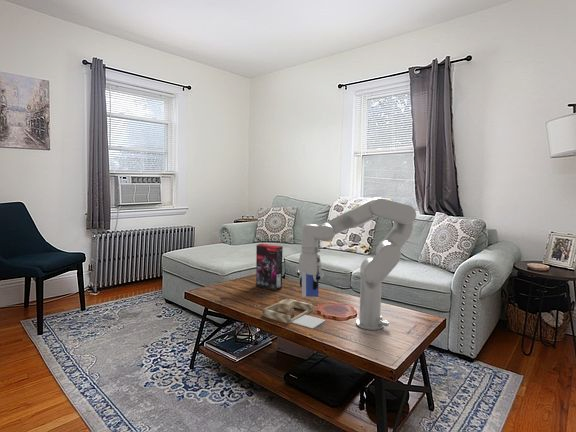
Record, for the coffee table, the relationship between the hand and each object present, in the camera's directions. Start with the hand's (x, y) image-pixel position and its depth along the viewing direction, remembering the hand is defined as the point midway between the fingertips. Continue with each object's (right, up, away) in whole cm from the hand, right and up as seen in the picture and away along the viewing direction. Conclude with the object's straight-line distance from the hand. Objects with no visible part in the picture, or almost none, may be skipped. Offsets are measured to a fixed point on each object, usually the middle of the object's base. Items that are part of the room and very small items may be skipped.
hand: (308, 287), depth 165 cm
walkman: (+1, -4, 0) cm, 4 cm away
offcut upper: (-11, -12, +6) cm, 18 cm away
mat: (0, -17, +1) cm, 17 cm away
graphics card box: (-22, -12, +57) cm, 62 cm away
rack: (-10, -16, +12) cm, 22 cm away
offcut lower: (-11, -16, +7) cm, 21 cm away
